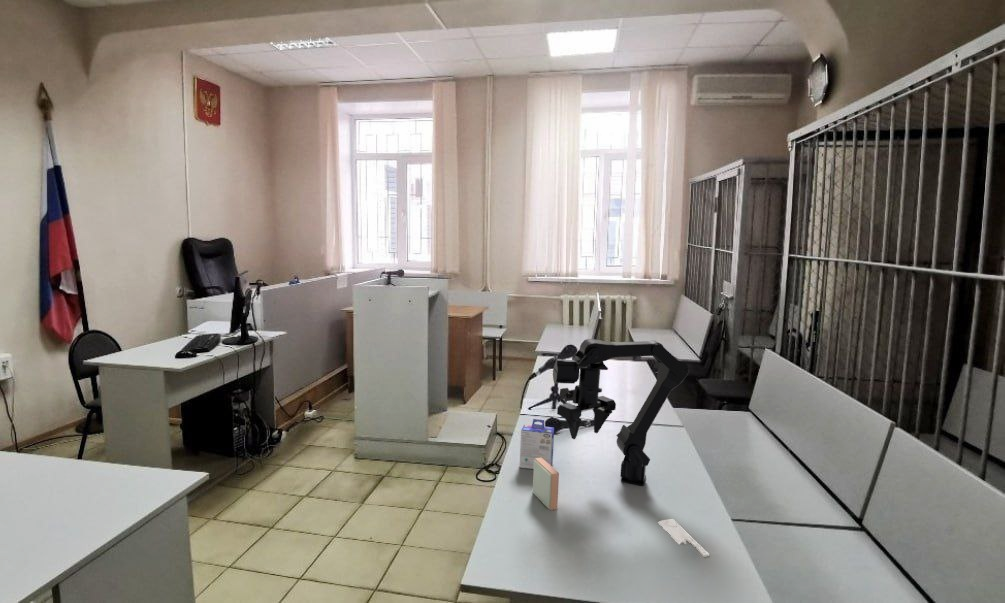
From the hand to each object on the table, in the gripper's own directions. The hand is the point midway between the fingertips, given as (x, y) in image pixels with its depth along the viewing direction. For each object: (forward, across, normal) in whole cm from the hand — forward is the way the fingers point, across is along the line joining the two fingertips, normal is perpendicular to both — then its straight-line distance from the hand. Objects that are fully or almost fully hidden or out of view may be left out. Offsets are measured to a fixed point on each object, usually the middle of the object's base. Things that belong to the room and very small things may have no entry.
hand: (584, 435), depth 153 cm
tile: (+14, +17, +3) cm, 22 cm away
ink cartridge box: (+14, +5, -14) cm, 21 cm away
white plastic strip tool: (+14, +1, +34) cm, 37 cm away
